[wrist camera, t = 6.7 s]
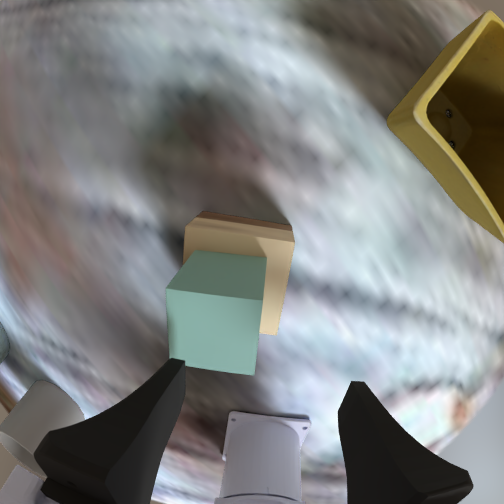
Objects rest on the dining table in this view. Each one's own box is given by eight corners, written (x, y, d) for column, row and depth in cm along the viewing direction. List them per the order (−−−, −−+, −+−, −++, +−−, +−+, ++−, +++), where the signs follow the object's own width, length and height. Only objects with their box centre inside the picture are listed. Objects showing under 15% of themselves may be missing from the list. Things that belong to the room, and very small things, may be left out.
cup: (74, 432, 32) (45, 481, 22) (29, 394, 30) (-6, 439, 21) (93, 414, 29) (58, 473, 20) (41, 370, 28) (-3, 422, 19)
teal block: (260, 320, 18) (254, 375, 13) (194, 312, 18) (170, 362, 14) (267, 257, 17) (262, 300, 12) (195, 249, 17) (165, 288, 12)
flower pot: (352, 125, 18) (409, 111, 9) (420, 46, 15) (491, 5, 7) (436, 213, 19) (513, 254, 11) (494, 133, 16) (576, 140, 8)
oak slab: (276, 316, 21) (276, 335, 18) (190, 302, 21) (180, 319, 19) (292, 231, 19) (294, 242, 16) (195, 217, 19) (185, 226, 17)
